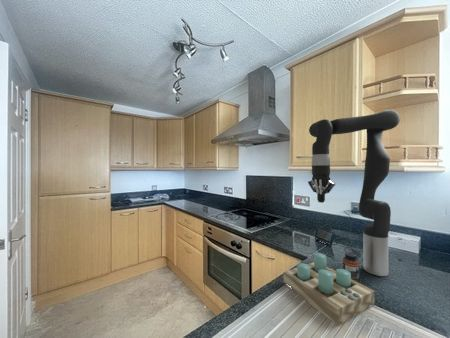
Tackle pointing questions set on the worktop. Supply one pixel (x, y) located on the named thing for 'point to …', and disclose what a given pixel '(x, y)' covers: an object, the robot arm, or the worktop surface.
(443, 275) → the worktop surface
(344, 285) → the button
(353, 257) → the supplement bottle
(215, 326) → the worktop surface
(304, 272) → the button
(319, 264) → the button
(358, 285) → the console
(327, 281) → the button
